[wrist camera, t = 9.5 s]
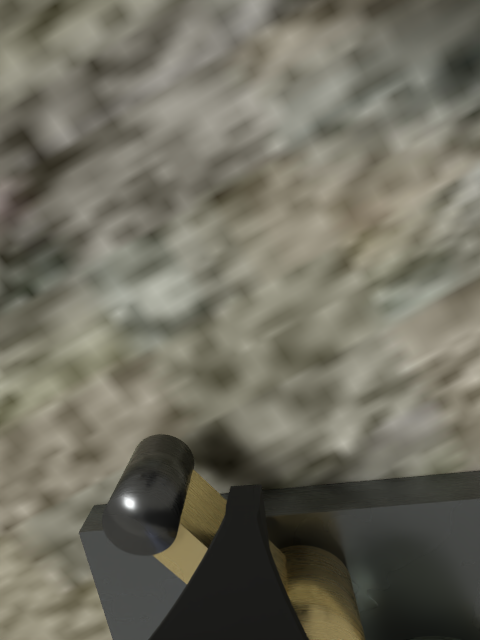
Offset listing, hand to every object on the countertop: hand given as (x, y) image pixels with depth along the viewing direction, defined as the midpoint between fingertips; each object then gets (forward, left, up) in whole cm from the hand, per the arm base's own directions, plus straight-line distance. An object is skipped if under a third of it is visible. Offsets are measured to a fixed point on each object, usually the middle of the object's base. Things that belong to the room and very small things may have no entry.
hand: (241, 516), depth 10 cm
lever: (-2, 0, -1) cm, 2 cm away
